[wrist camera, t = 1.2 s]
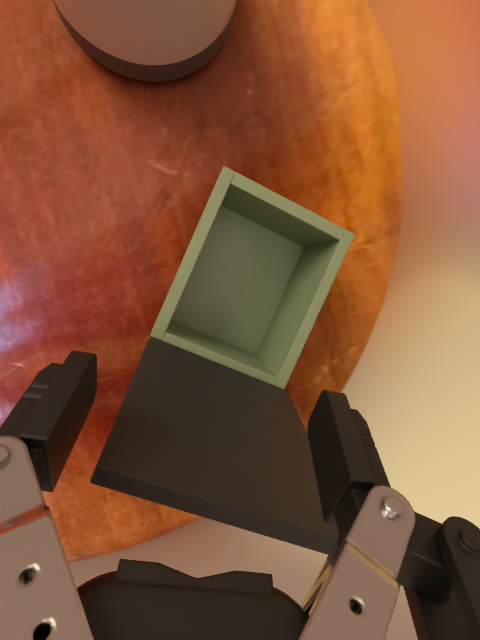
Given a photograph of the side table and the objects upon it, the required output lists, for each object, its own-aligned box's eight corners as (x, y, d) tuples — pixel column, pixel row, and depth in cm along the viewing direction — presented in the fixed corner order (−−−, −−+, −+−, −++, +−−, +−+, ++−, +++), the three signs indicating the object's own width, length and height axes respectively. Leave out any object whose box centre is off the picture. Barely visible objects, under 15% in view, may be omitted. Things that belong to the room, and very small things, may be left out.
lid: (96, 465, 11) (88, 483, 11) (361, 548, 13) (351, 562, 13) (150, 335, 23) (145, 345, 23) (287, 390, 25) (282, 398, 25)
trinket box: (211, 192, 30) (223, 165, 22) (312, 243, 32) (355, 234, 24) (155, 322, 31) (148, 339, 23) (257, 364, 33) (283, 392, 25)
